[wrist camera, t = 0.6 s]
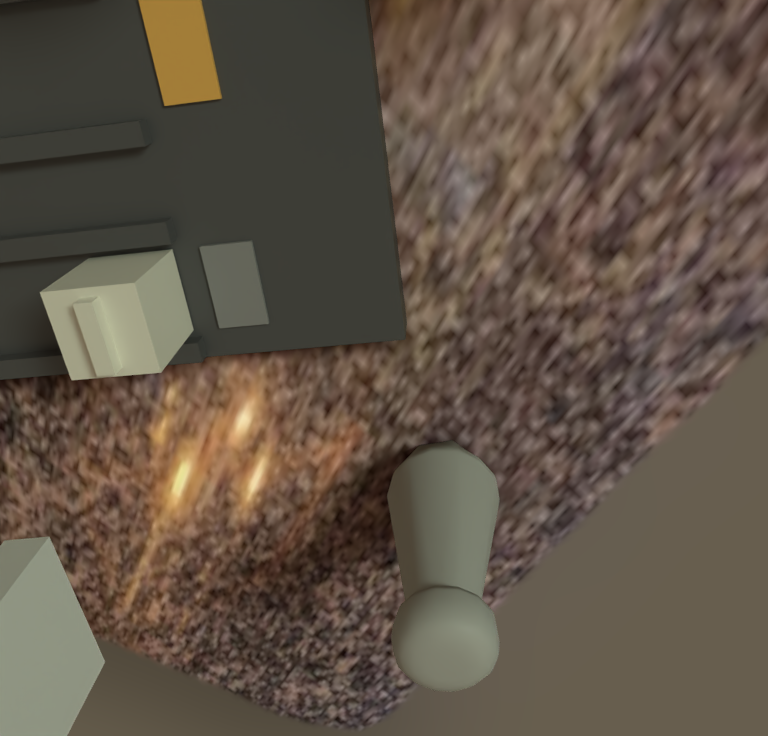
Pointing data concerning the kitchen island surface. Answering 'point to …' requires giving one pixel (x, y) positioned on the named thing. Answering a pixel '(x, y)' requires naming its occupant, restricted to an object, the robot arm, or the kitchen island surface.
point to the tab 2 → (119, 314)
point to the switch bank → (198, 168)
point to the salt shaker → (444, 566)
